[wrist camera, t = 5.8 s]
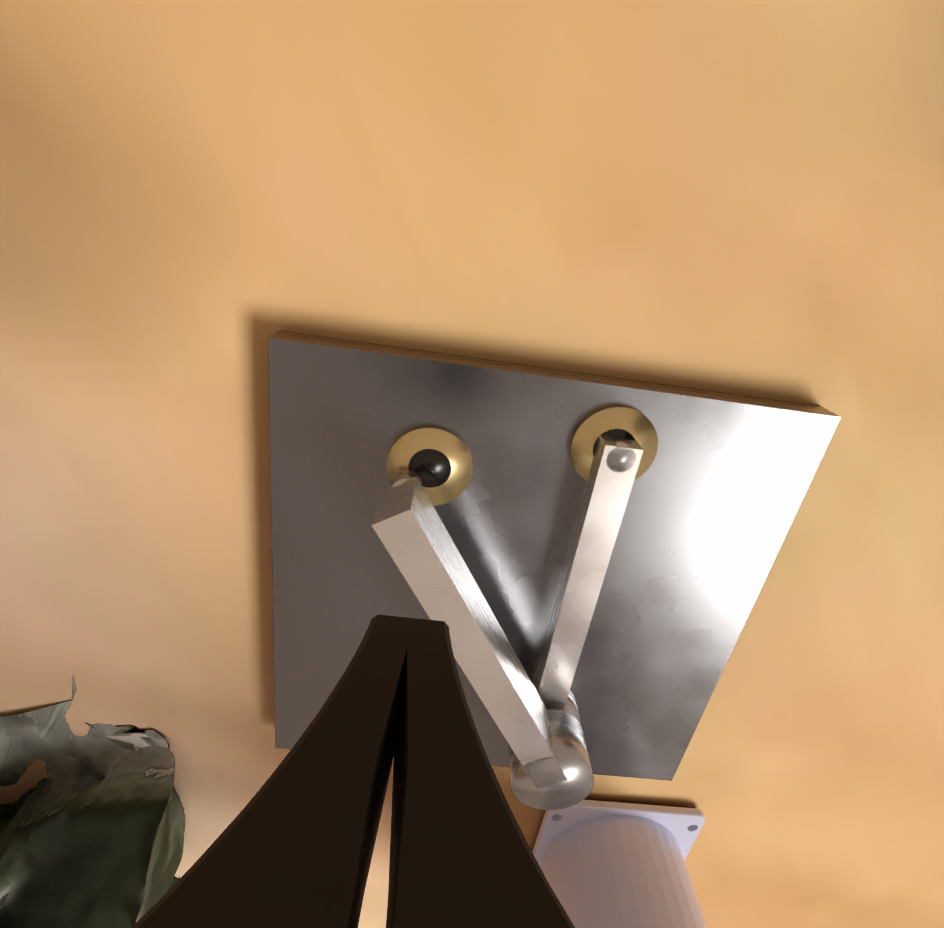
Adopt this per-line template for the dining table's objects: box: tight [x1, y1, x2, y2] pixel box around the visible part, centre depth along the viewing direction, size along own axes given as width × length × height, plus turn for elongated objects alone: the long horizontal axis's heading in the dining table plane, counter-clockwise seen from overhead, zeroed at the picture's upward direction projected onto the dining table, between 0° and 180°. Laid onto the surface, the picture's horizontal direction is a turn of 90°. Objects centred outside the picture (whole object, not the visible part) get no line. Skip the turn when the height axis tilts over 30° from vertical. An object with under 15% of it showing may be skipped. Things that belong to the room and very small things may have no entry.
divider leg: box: [372, 470, 594, 810], centre depth 18 cm, size 14×3×3 cm, turn 24°
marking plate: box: [268, 331, 841, 781], centre depth 20 cm, size 18×18×2 cm
